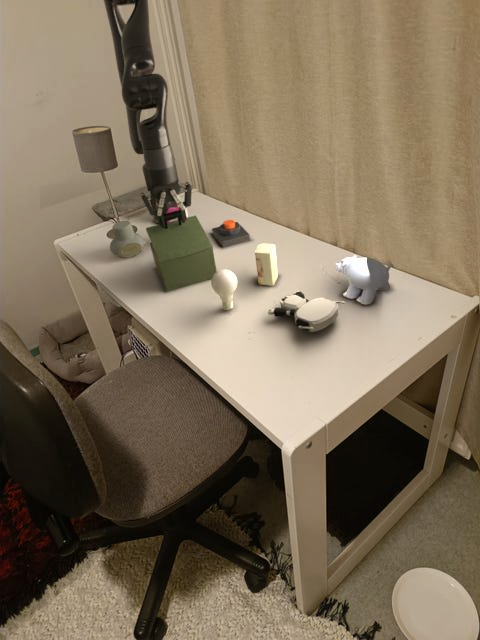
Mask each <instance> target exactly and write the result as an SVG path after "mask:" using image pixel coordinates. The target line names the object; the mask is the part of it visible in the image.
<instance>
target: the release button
mask: <svg viewBox="0 0 480 640" xmlns="http://www.w3.org/2000/svg"><path fill="white" fill-rule="evenodd" d="M235 222H236V221H235V220H234V219H226V220H224V221H223V223H222V224H224V229H233V228H235Z"/></svg>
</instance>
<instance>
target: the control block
mask: <svg viewBox="0 0 480 640" xmlns="http://www.w3.org/2000/svg"><path fill="white" fill-rule="evenodd" d="M211 232H212V236H213V237H214V238H215V239H216V240H217V242H218V243H219V244H220V246H221V247H222V248H223V249H224V248H228V247H232V246H235V245H238V244H239V245H240V244H243V243H246V242H249V241H251V237H250V233H249V232H248V231H247V230H246V229H245V228H244V227H243V226H242V225H241V224H240V223H239V222H238V221H235V228H233V229H224V224H223V223H222V224H220V225H219V226H216V227H212V228H211Z"/></svg>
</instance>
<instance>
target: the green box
mask: <svg viewBox="0 0 480 640" xmlns="http://www.w3.org/2000/svg"><path fill="white" fill-rule="evenodd" d="M149 245H150V250H151V253H152V257H153V261H154V264H155V268H156V271H157V273H158V275H159V278H160V280H161V282H162V285H163V286H164V288H165V290H166V292H170V291H174V290H177V289H181V288H184V287H188V286H191V285H194V284H198V283H201V282H205V281H207V280H212V277H213V275H214V274H215V273H216V272H217V271H218V270H217V266H216V265H217V264H216V259H215V253H214V248H213V249H209V250H205V251H202V252H198V253H194V254H191V255H187V256H183V257H180V258H176V259H172V260H169V261H165V262H162V263H159V260H158V258H157V255H156V253H155V250H154V248H153V245H152V243H151V241H150V242H149Z"/></svg>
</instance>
